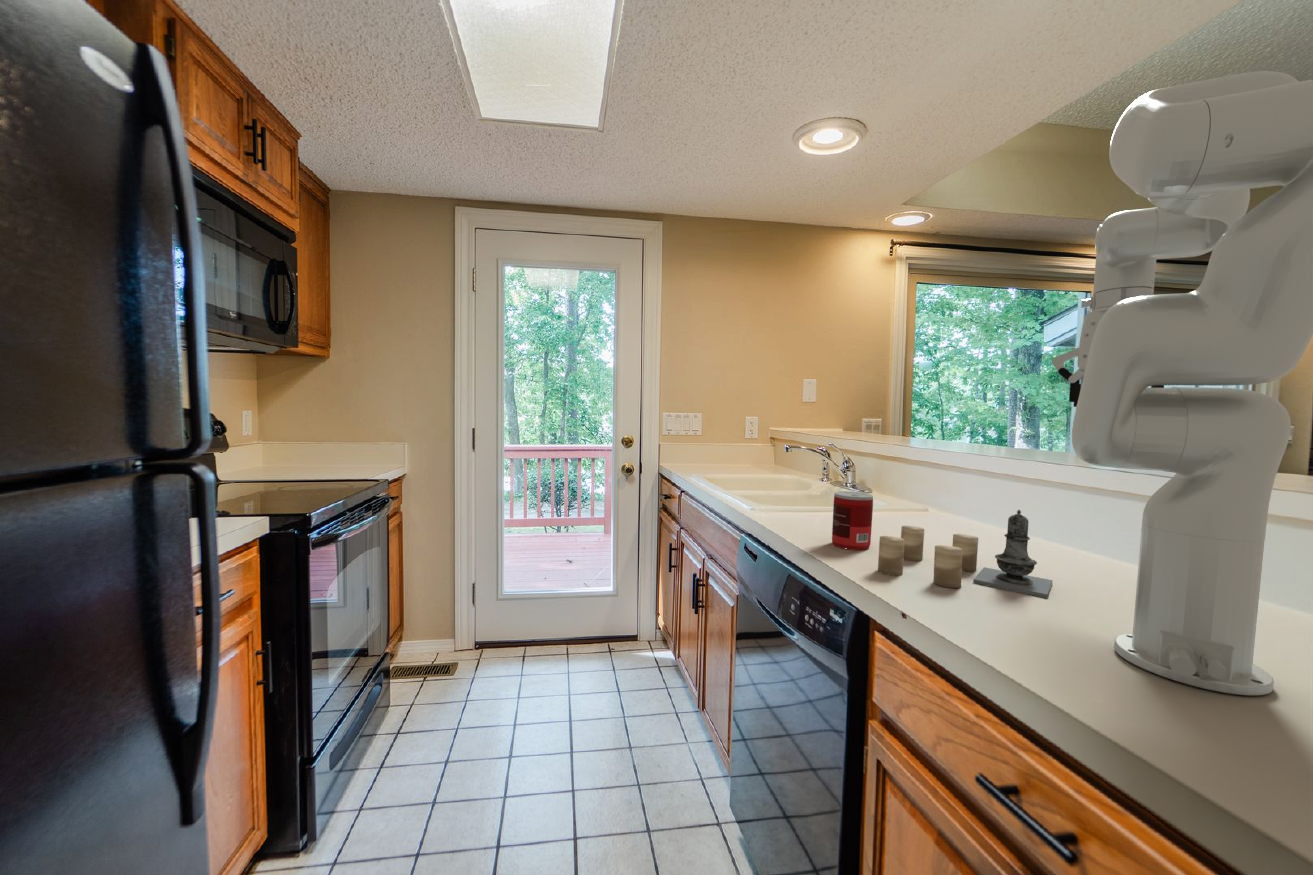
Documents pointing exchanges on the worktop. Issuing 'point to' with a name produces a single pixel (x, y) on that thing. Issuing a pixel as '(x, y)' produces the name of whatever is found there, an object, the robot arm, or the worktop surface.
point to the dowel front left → (891, 555)
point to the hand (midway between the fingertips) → (1113, 407)
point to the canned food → (852, 520)
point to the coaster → (1037, 588)
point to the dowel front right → (948, 566)
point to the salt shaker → (1016, 553)
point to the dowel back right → (967, 550)
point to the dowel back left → (913, 542)
